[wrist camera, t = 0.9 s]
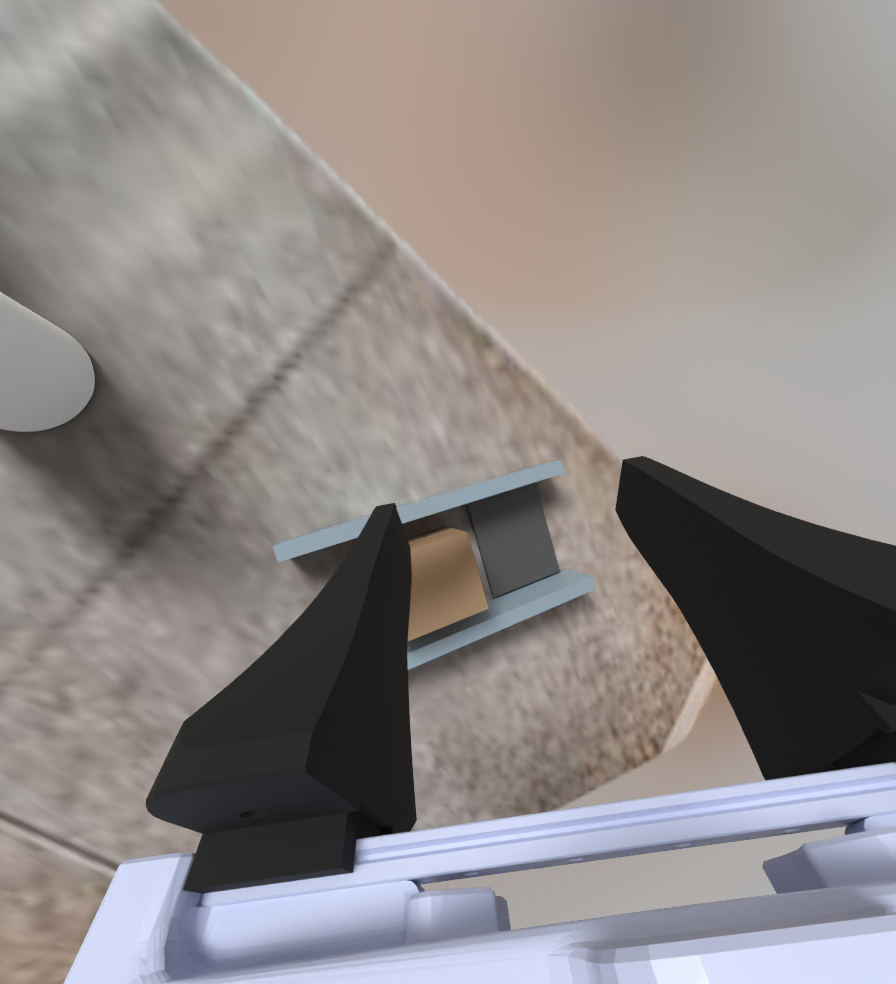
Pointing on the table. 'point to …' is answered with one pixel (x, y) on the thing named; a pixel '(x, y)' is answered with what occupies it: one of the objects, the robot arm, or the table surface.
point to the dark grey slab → (513, 538)
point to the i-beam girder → (500, 609)
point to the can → (39, 371)
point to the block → (443, 581)
